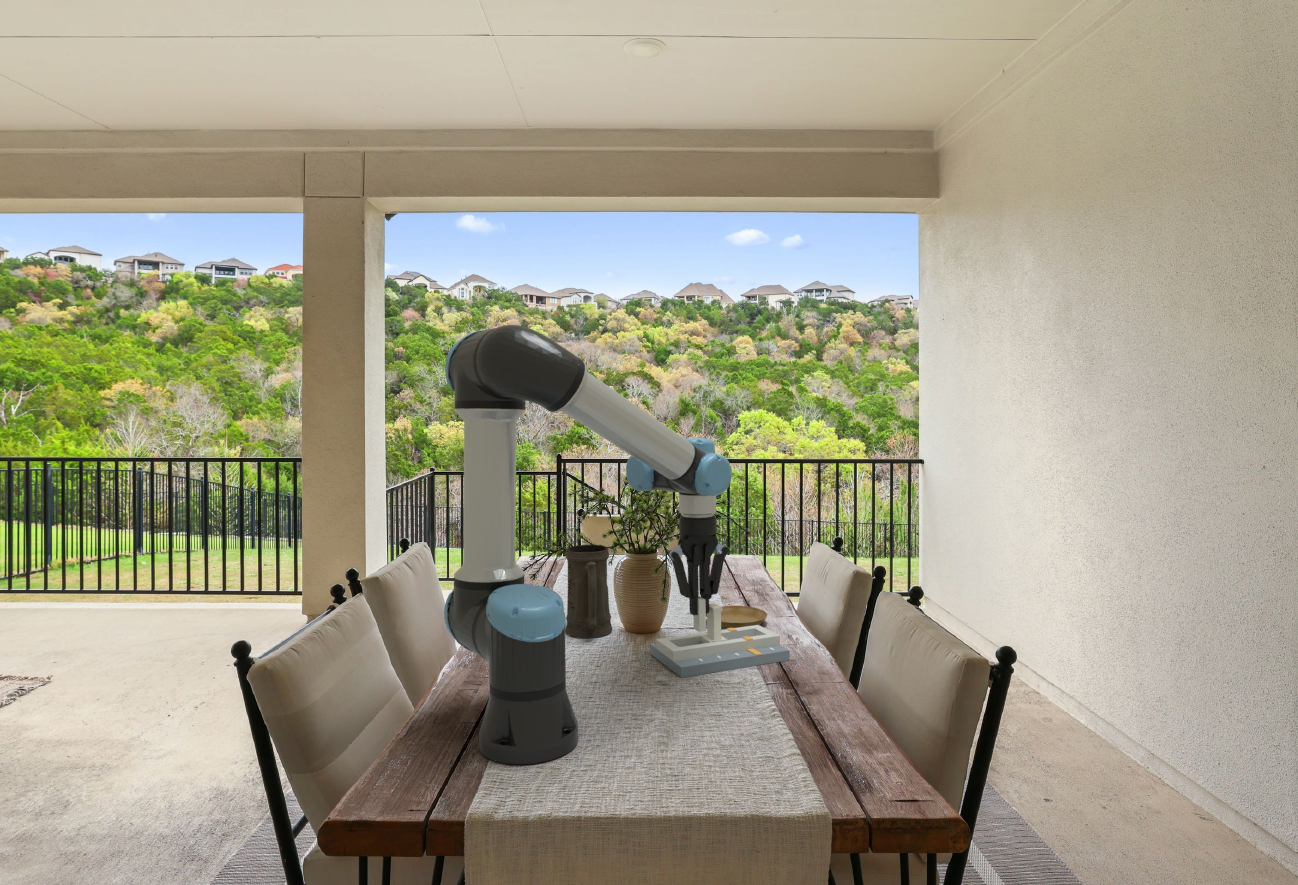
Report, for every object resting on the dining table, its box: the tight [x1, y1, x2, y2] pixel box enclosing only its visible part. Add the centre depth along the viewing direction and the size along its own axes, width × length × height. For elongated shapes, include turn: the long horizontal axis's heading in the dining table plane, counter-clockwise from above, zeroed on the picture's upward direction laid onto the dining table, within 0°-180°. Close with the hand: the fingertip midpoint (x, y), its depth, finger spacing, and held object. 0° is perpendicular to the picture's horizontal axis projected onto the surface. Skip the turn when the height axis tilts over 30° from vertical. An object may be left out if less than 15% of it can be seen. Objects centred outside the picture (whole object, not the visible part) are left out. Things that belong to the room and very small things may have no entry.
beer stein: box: [565, 544, 613, 639], centre depth 172 cm, size 15×11×20 cm
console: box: [649, 624, 791, 679], centre depth 156 cm, size 16×24×4 cm, turn 112°
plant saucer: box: [706, 605, 768, 630], centre depth 180 cm, size 15×15×3 cm
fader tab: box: [701, 602, 728, 644], centre depth 155 cm, size 4×4×8 cm
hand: (699, 629), depth 154 cm, fingers closed
